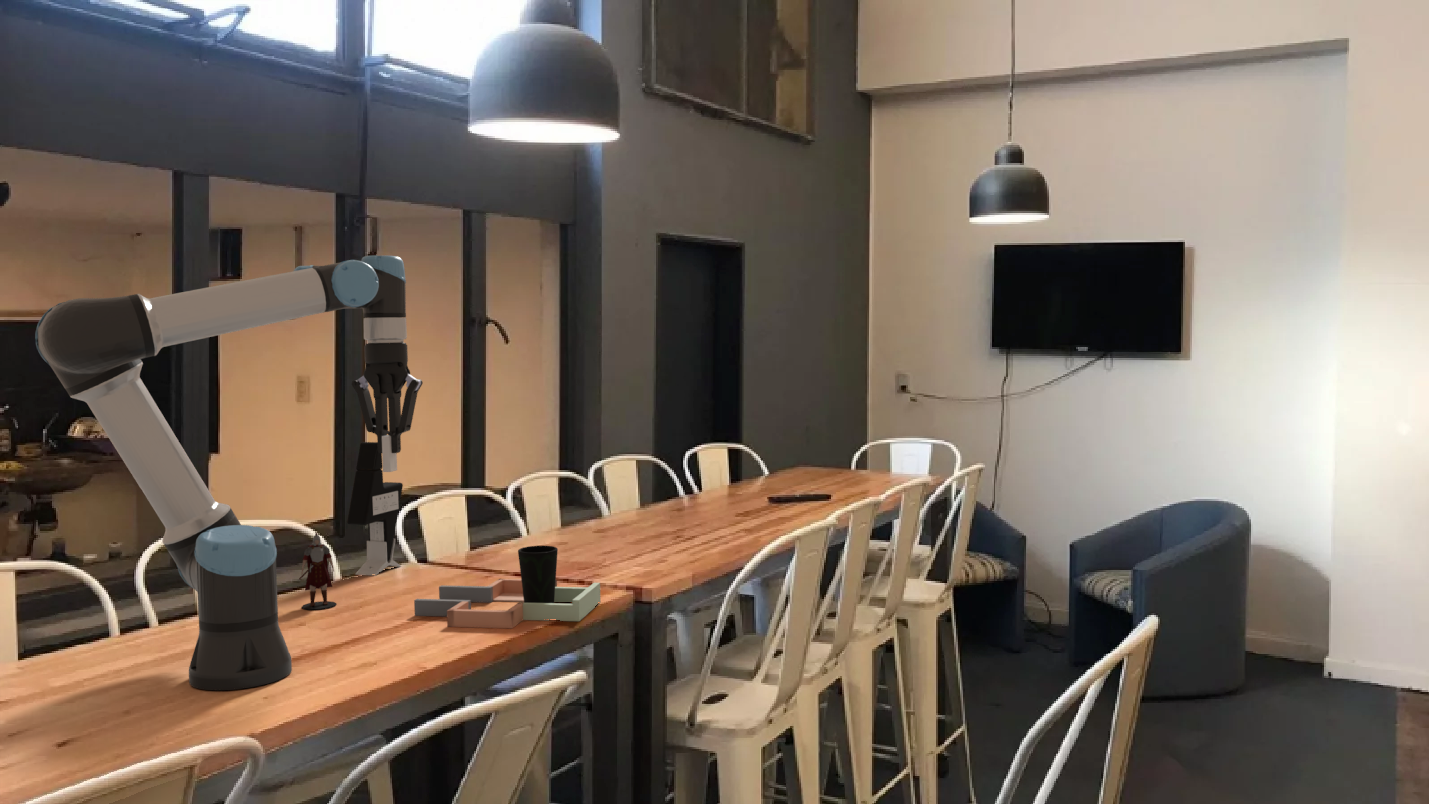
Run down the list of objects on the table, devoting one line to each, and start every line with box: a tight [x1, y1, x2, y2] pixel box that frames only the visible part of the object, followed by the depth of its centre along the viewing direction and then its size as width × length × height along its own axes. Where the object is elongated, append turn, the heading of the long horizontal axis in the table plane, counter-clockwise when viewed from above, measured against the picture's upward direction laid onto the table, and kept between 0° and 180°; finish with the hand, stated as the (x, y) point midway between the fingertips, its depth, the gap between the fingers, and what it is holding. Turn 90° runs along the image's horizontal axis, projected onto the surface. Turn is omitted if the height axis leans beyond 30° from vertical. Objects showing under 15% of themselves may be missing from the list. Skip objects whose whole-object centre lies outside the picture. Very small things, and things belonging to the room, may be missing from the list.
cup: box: [517, 545, 559, 603], centre depth 221 cm, size 8×8×12 cm
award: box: [346, 441, 404, 577], centre depth 260 cm, size 15×5×30 cm, turn 161°
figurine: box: [298, 532, 337, 611], centre depth 227 cm, size 7×7×15 cm
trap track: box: [413, 578, 601, 629], centre depth 221 cm, size 33×28×4 cm
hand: (390, 470), depth 206 cm, fingers closed
